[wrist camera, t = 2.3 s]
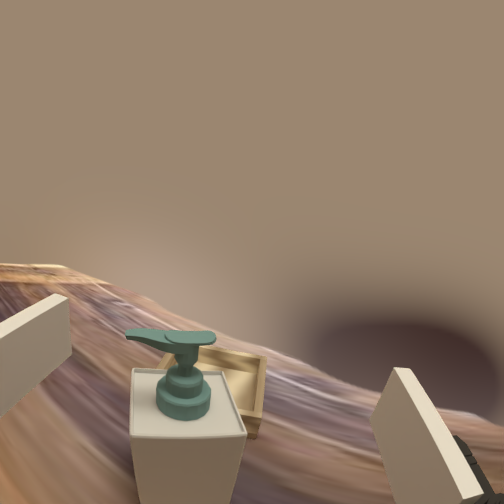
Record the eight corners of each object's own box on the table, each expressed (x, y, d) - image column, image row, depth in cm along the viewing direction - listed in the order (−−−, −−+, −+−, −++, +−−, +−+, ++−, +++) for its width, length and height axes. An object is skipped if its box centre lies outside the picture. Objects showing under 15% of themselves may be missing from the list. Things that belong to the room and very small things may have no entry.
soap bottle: (136, 452, 28) (129, 304, 24) (211, 453, 31) (232, 311, 27) (140, 513, 20) (120, 364, 16) (228, 510, 23) (264, 367, 19)
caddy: (262, 376, 49) (267, 356, 48) (255, 439, 34) (261, 418, 33) (174, 358, 50) (176, 338, 49) (142, 412, 35) (141, 390, 34)
